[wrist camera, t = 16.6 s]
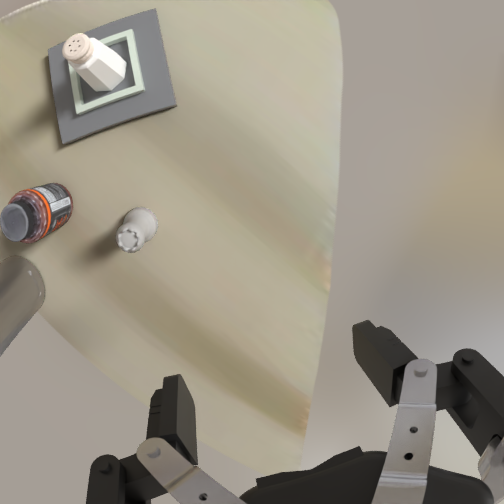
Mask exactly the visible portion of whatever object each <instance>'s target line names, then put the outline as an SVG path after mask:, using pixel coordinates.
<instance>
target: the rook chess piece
mask: <svg viewBox="0 0 504 504" xmlns="http://www.w3.org/2000/svg"><path fill="white" fill-rule="evenodd" d="M157 229H158V220H157V218H156V216H155V214H154V213H153V212H152V211H151V210H150V209H147V208H145V207H136V208H134V209H132V210H130V211H129V213H128V214H127V215H126V217H125V219H124V222H123V225H121V226H120V227H119V229H118V230H117V232H116V242H117V244H118V246H119V248H121V249H122V250H123V251H125V252H128V253H134V252H137V251H139V250H140V249H141V248H142V247H143V244H144V243H145V242H147V241H149V240H150V239H151V238H152V237H153V236H154V235H155V234H156V232H157Z"/></svg>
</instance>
